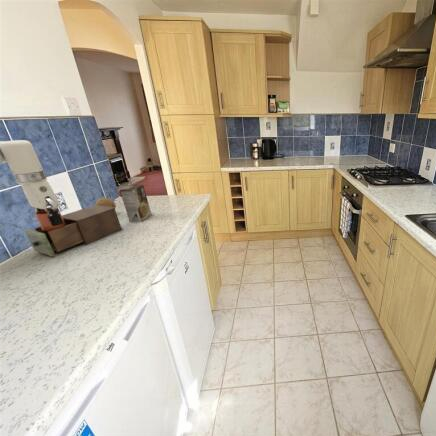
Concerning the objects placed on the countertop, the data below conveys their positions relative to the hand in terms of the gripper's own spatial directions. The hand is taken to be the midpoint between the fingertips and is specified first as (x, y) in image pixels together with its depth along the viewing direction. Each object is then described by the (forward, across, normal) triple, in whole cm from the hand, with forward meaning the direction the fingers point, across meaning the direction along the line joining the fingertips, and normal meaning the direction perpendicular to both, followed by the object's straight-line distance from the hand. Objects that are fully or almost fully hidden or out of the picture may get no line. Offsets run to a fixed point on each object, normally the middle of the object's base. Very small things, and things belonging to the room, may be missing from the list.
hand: (52, 223), depth 92 cm
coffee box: (+11, -2, -32) cm, 34 cm away
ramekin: (+2, 0, 0) cm, 2 cm away
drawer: (+10, 0, 0) cm, 10 cm away
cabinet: (+11, 0, -12) cm, 16 cm away
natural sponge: (+11, +17, -28) cm, 35 cm away
